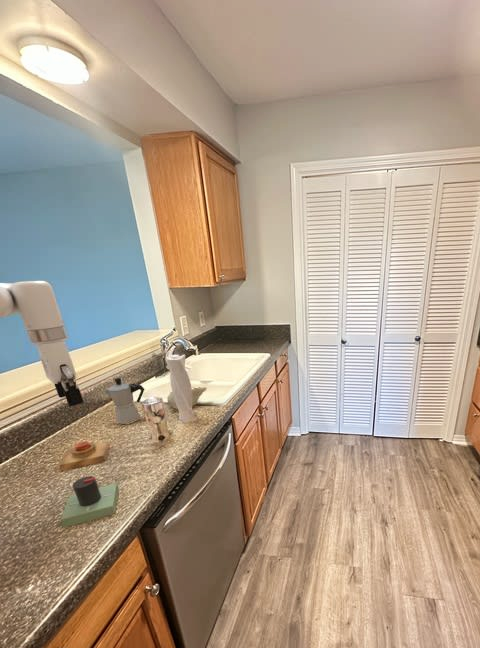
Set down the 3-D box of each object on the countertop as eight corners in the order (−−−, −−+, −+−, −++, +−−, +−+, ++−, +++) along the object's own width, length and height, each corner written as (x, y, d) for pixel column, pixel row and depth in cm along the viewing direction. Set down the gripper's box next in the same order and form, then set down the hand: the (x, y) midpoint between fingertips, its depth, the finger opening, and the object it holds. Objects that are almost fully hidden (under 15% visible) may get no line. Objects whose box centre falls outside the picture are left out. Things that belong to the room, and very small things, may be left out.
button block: (61, 471, 99) (57, 460, 98) (68, 455, 108) (64, 445, 106) (105, 461, 103) (102, 450, 102) (109, 446, 112) (106, 436, 110)
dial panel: (63, 528, 76) (59, 519, 75) (72, 502, 85) (69, 494, 84) (115, 513, 80) (112, 505, 79) (119, 490, 89) (116, 482, 88)
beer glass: (169, 443, 112) (160, 403, 107) (148, 445, 111) (138, 405, 106) (173, 433, 119) (165, 395, 113) (153, 435, 118) (144, 398, 112)
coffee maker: (108, 427, 126) (95, 383, 120) (115, 417, 134) (103, 376, 128) (149, 421, 129) (138, 379, 123) (153, 413, 137) (143, 372, 130)
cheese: (163, 416, 138) (178, 400, 129) (159, 401, 140) (174, 384, 131) (195, 415, 150) (211, 399, 141) (191, 401, 152) (206, 385, 143)
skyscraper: (174, 419, 130) (159, 351, 119) (192, 413, 135) (179, 347, 124) (182, 425, 125) (168, 354, 114) (200, 419, 129) (188, 350, 118)
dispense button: (75, 452, 102) (74, 447, 101) (78, 447, 105) (76, 442, 104) (88, 450, 103) (87, 445, 102) (90, 444, 106) (89, 440, 106)
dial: (77, 508, 79) (70, 489, 77) (81, 497, 83) (74, 478, 81) (99, 502, 80) (93, 483, 78) (102, 491, 85) (96, 473, 82)
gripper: (22, 334, 81) (46, 397, 88) (36, 342, 70) (63, 413, 77) (57, 329, 86) (78, 389, 93) (76, 335, 75) (97, 403, 82)
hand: (71, 400), depth 85 cm, fingers open, 9 cm apart
